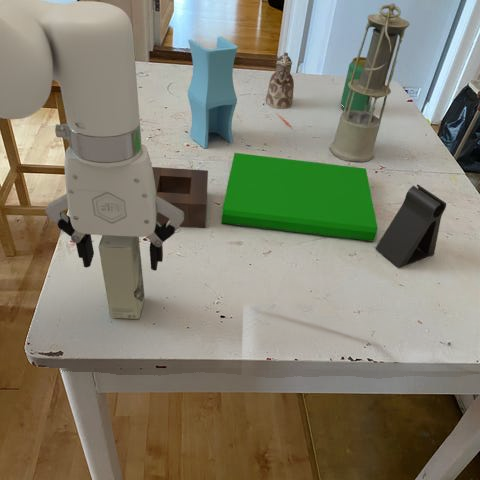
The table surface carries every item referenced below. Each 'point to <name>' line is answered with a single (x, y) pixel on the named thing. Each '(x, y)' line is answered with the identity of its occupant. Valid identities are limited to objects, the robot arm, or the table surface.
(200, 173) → the brown frame
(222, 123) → the vase
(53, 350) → the table surface
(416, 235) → the phone stand
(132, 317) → the box
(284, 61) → the figurine
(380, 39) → the lamp
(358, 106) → the beverage can
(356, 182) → the book
